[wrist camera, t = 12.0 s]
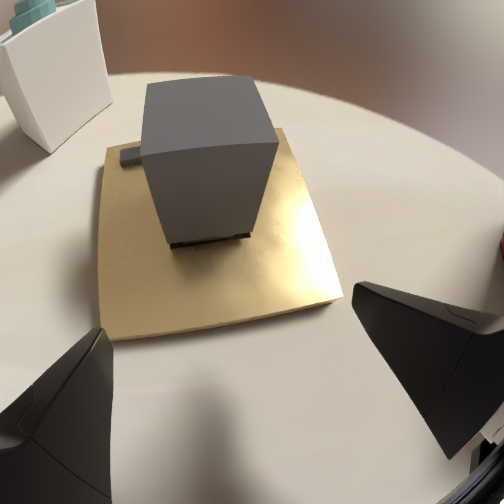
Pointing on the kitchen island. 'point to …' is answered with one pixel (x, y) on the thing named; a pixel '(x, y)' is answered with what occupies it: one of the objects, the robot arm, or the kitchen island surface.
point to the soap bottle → (54, 69)
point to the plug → (206, 155)
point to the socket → (206, 257)
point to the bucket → (502, 246)
